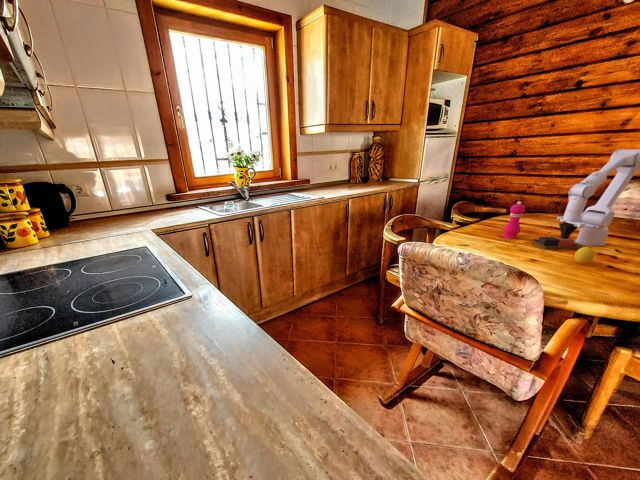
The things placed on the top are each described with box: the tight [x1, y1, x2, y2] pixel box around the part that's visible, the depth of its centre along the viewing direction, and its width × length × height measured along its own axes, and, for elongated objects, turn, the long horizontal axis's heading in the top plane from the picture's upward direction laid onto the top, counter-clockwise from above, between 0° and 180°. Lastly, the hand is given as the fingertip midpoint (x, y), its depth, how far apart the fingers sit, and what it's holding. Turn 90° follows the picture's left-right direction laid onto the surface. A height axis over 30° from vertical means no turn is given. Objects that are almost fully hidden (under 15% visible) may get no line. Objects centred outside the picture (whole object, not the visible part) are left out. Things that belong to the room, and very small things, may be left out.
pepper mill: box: [502, 200, 526, 240], centre depth 147 cm, size 7×7×20 cm
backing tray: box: [530, 239, 583, 251], centre depth 136 cm, size 15×10×2 cm
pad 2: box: [553, 236, 575, 246], centre depth 135 cm, size 6×4×4 cm
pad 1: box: [537, 236, 559, 246], centre depth 136 cm, size 6×4×4 cm
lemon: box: [573, 246, 595, 266], centre depth 115 cm, size 6×6×8 cm
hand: (564, 238), depth 134 cm, fingers closed, pressing on pad 2
